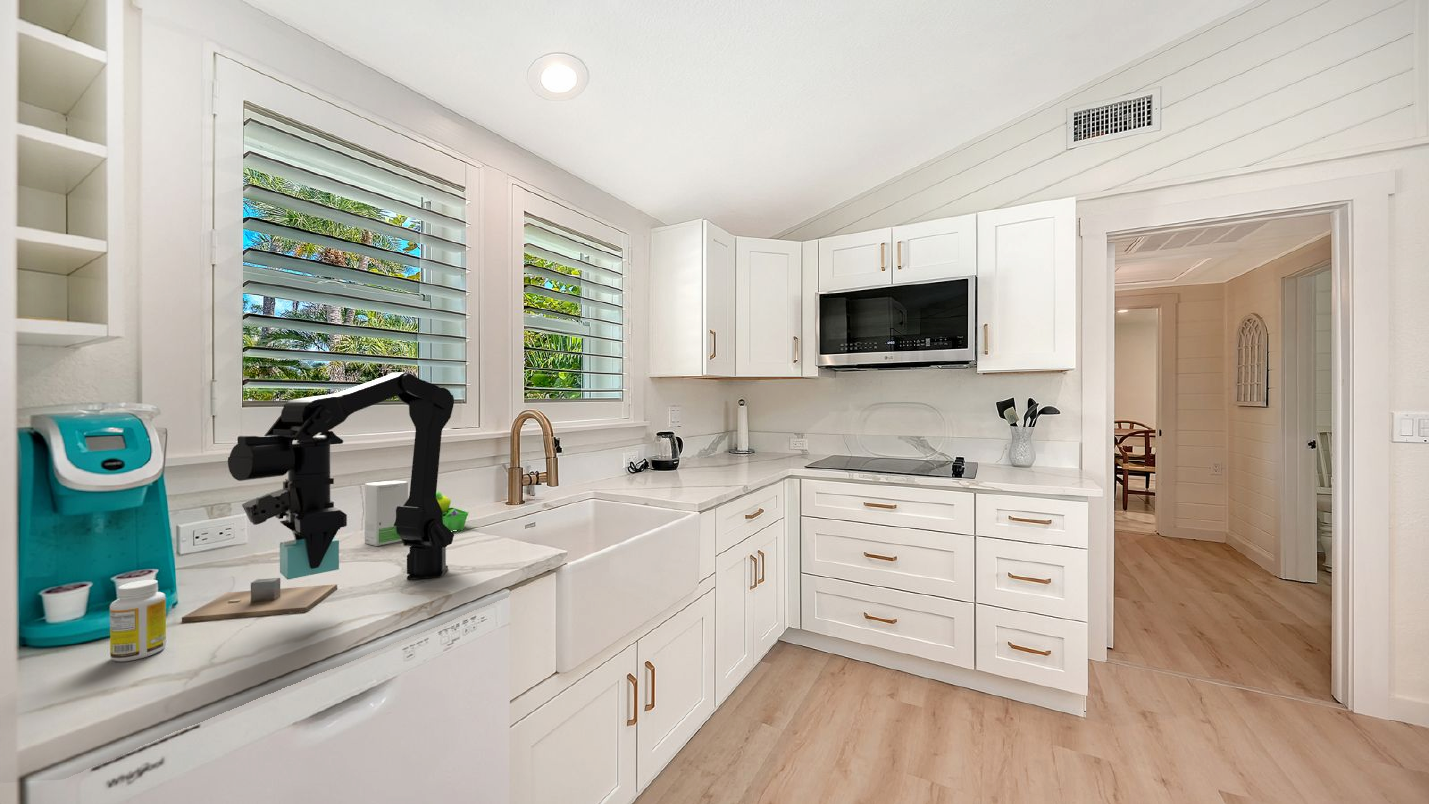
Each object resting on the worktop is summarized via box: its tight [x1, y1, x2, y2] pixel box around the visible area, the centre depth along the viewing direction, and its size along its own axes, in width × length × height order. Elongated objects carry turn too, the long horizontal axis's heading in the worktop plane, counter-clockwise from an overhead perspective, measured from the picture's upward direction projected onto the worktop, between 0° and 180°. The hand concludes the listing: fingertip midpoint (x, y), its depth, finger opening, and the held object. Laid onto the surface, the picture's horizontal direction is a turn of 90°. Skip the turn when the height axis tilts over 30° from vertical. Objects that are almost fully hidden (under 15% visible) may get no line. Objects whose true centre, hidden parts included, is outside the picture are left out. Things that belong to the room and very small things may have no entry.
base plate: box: [181, 584, 338, 623], centre depth 97 cm, size 18×12×1 cm, turn 104°
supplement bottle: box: [109, 579, 167, 662], centre depth 78 cm, size 6×6×10 cm
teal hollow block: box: [279, 537, 340, 581], centre depth 91 cm, size 7×6×6 cm
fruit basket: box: [436, 491, 469, 531], centre depth 153 cm, size 11×9×11 cm
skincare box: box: [364, 480, 409, 547], centre depth 140 cm, size 8×7×16 cm
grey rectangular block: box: [250, 577, 281, 602], centre depth 97 cm, size 4×2×4 cm, turn 104°
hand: (309, 564), depth 91 cm, fingers closed on teal hollow block, 6 cm apart
